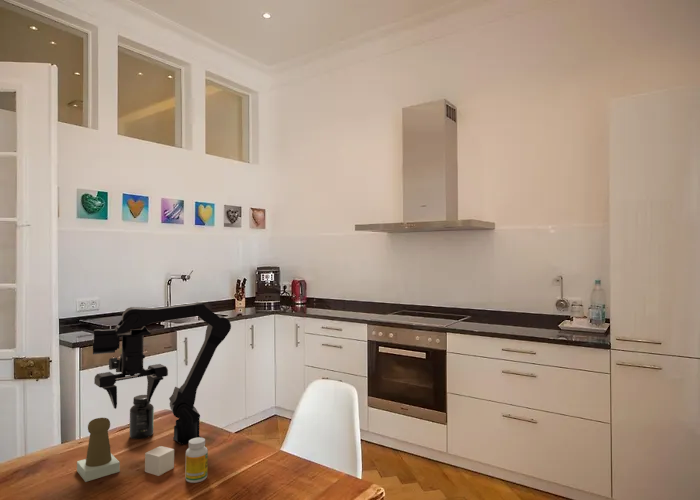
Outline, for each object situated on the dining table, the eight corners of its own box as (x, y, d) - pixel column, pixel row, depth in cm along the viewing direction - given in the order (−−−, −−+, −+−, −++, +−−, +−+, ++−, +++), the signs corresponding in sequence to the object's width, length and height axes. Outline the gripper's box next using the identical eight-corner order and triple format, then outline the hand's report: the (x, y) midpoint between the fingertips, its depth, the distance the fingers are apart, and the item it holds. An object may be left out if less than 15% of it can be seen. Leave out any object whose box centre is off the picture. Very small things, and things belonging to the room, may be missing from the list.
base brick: (109, 461, 126) (110, 452, 126) (119, 471, 120) (119, 461, 120) (76, 470, 120) (76, 461, 120) (85, 481, 114) (85, 471, 114)
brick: (160, 464, 125) (160, 445, 125) (173, 468, 122) (174, 449, 122) (144, 472, 120) (145, 452, 120) (158, 476, 118) (158, 456, 118)
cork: (105, 466, 117) (105, 423, 118) (80, 466, 117) (81, 423, 117) (115, 456, 123) (116, 414, 124) (92, 456, 123) (93, 415, 123)
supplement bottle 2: (184, 475, 118) (184, 438, 118) (205, 471, 120) (206, 434, 120) (186, 485, 113) (187, 446, 113) (209, 480, 116) (209, 442, 116)
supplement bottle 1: (158, 432, 147) (158, 394, 147) (143, 440, 140) (144, 401, 140) (139, 430, 148) (139, 392, 148) (124, 438, 142) (124, 399, 142)
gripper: (154, 342, 146) (153, 392, 146) (89, 351, 133) (88, 405, 133) (168, 348, 138) (168, 400, 138) (100, 357, 125) (100, 415, 125)
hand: (132, 404), depth 134 cm, fingers open, 9 cm apart
